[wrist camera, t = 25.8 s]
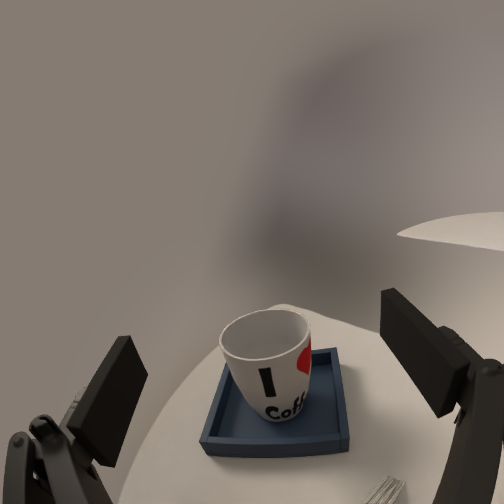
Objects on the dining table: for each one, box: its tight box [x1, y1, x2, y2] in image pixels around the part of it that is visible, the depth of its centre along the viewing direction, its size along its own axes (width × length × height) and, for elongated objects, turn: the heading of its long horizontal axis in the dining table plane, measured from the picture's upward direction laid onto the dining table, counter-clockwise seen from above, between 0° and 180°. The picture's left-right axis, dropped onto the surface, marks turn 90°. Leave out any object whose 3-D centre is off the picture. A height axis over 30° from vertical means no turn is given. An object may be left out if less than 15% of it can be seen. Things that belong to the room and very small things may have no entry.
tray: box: [199, 347, 350, 458], centre depth 27 cm, size 14×14×3 cm
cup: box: [219, 309, 311, 422], centre depth 26 cm, size 8×8×10 cm
